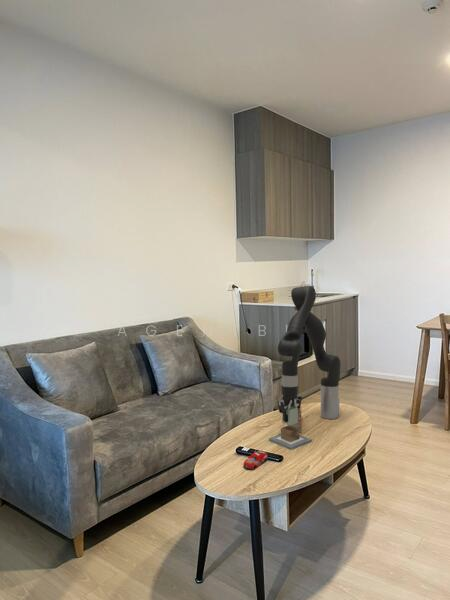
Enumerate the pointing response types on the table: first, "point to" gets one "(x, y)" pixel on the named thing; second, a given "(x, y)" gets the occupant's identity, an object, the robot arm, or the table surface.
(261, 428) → the table surface
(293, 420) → the sage block
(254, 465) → the race car
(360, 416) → the table surface
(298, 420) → the stack of blocks
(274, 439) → the board
